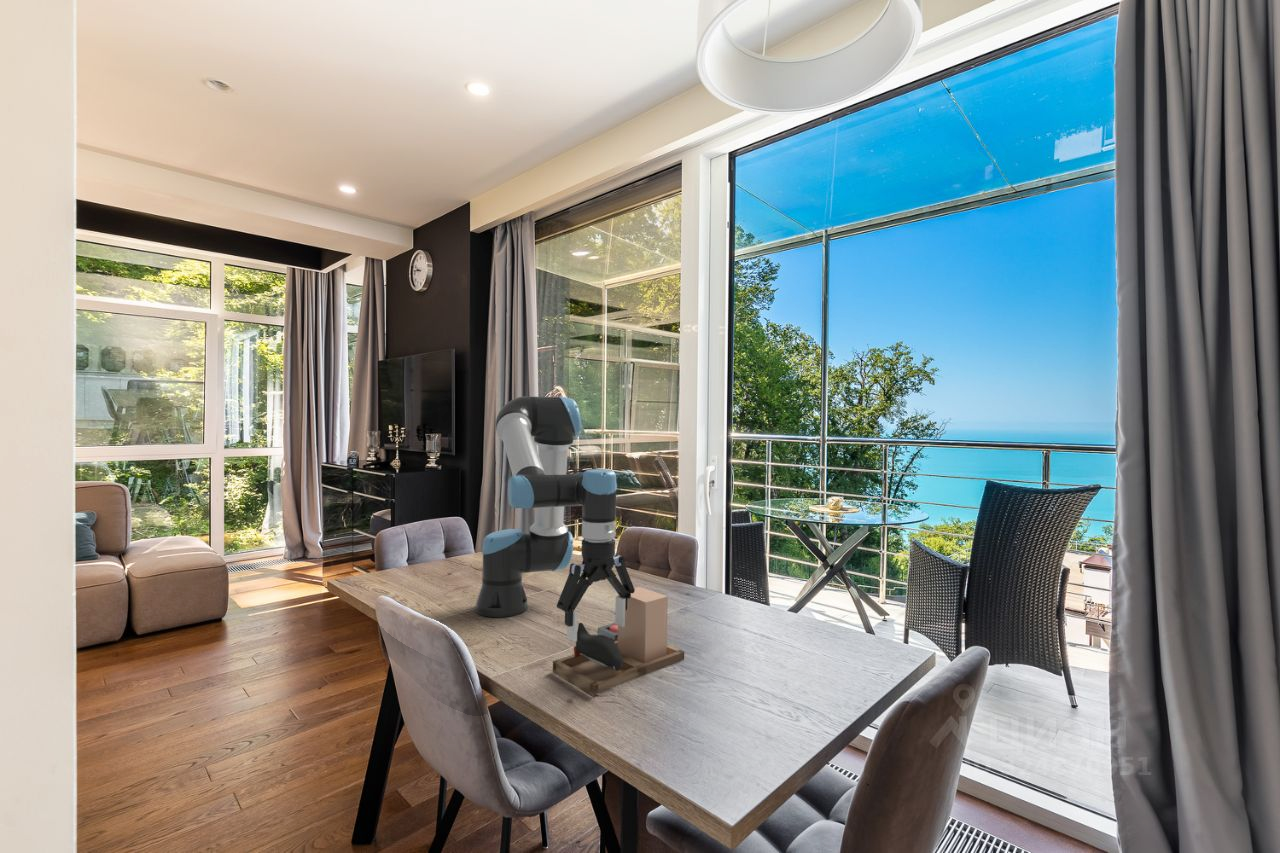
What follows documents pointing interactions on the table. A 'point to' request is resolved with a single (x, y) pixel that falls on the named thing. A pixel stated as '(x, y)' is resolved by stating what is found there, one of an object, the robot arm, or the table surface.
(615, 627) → the stop button
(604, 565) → the robot arm
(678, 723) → the table surface
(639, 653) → the tan block
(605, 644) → the figurine
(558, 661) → the wooden divided tray
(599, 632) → the button collar
